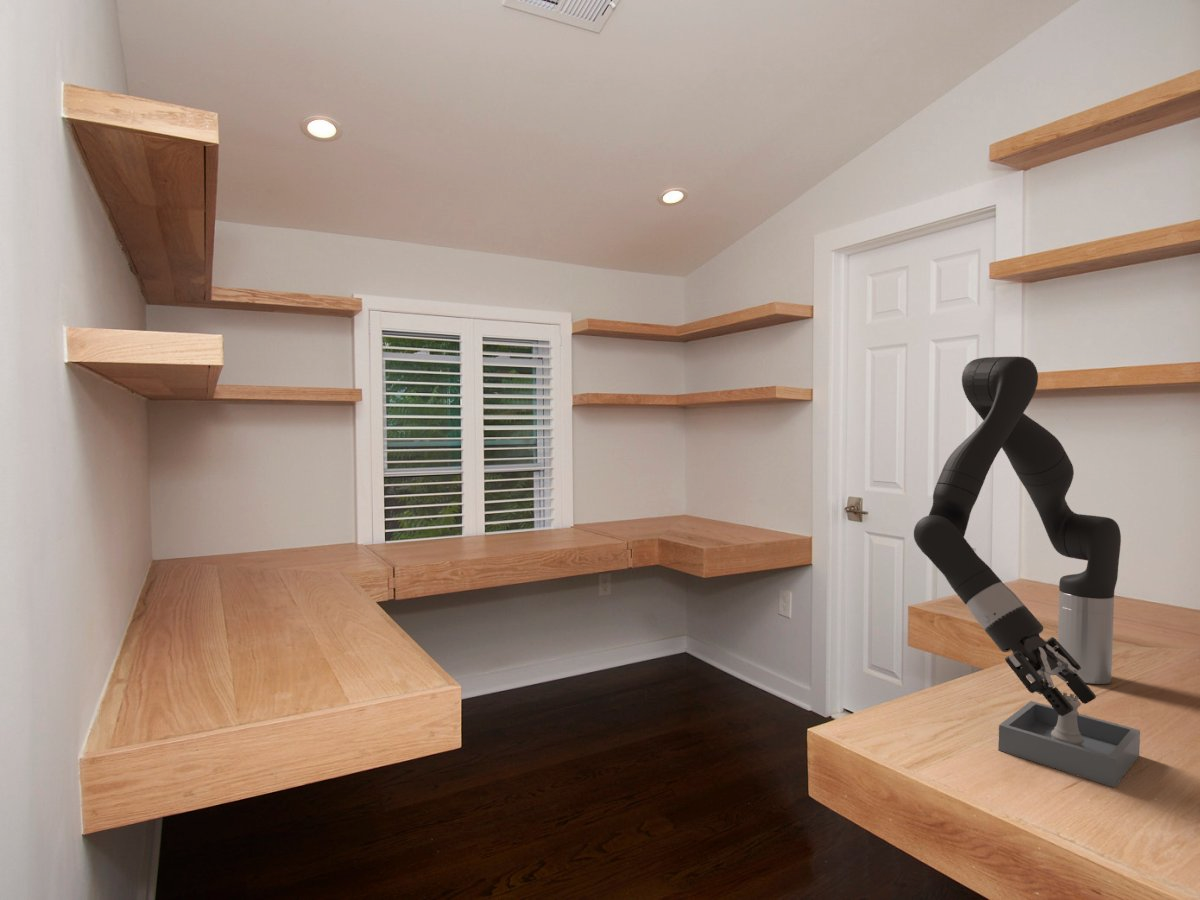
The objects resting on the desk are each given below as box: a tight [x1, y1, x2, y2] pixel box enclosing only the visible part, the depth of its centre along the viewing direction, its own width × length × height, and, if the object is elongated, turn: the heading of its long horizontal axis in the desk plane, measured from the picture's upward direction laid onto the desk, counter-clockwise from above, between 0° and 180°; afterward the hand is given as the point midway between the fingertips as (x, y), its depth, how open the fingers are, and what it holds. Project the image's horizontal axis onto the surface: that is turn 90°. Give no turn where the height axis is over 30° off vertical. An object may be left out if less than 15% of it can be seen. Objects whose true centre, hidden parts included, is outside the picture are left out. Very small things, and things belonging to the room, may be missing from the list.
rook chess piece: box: [1051, 692, 1084, 748], centre depth 108 cm, size 4×4×8 cm
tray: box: [998, 700, 1141, 789], centre depth 108 cm, size 15×15×4 cm
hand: (1079, 707), depth 106 cm, fingers open, 8 cm apart
